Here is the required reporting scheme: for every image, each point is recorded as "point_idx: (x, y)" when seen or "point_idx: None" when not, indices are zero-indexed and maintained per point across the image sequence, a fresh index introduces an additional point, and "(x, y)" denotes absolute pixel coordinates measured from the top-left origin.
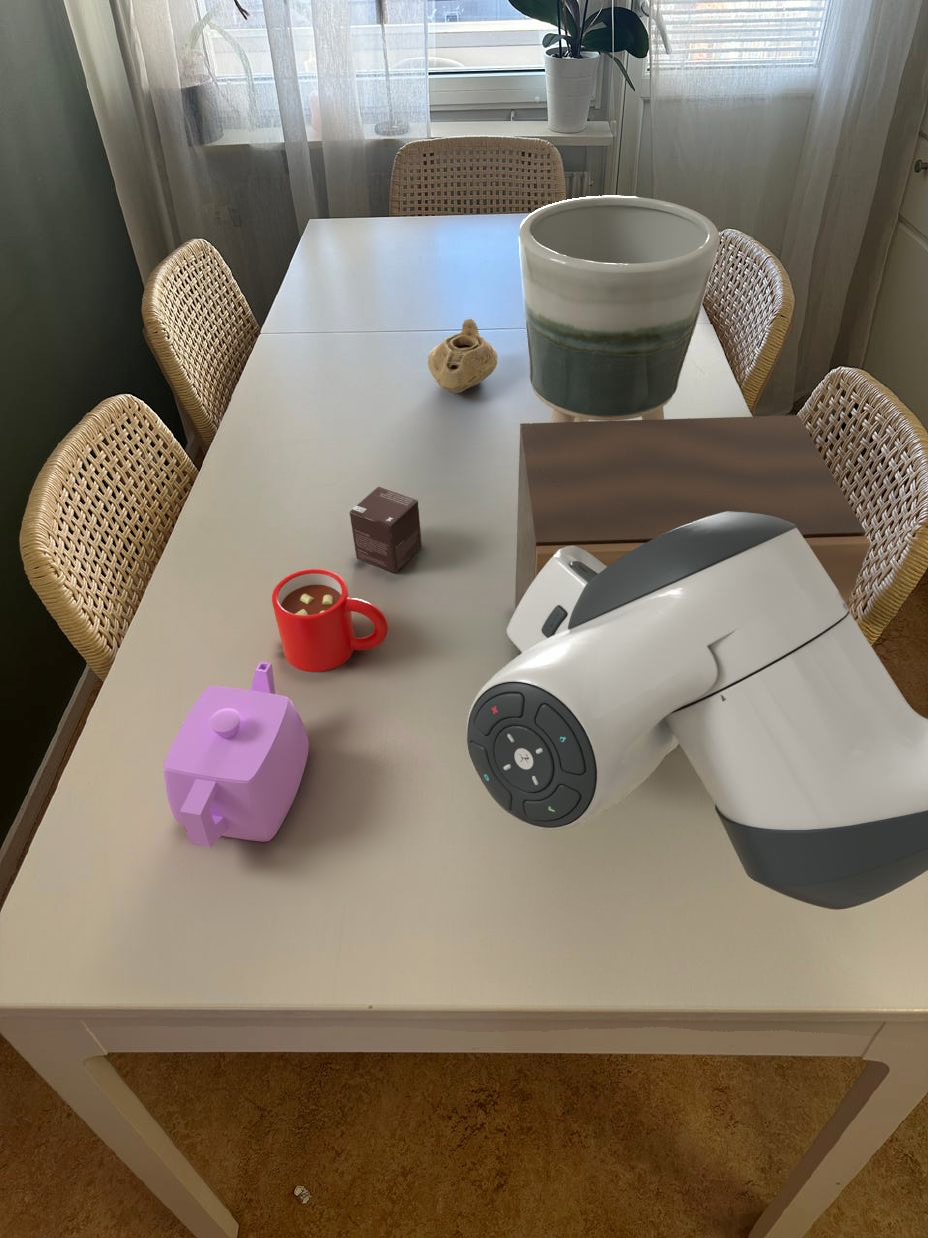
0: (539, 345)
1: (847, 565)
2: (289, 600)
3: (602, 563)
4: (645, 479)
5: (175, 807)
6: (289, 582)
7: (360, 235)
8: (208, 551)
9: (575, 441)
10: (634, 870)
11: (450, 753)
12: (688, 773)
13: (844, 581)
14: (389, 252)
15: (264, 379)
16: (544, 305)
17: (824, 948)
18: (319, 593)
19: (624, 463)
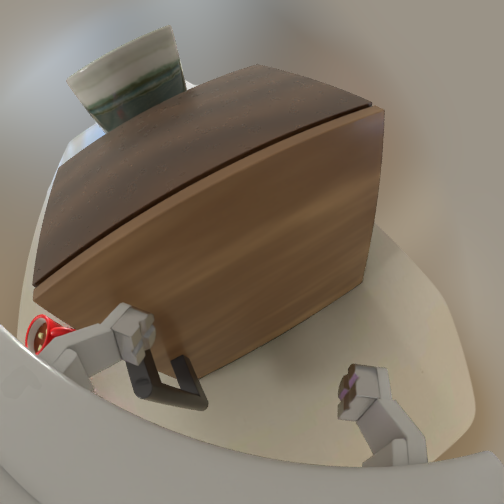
0: (98, 121)
1: (373, 140)
2: (36, 339)
3: (3, 337)
4: (137, 148)
5: None
6: (30, 330)
7: (80, 137)
8: (26, 311)
9: (88, 155)
10: (298, 450)
11: (146, 408)
12: (307, 354)
13: (374, 158)
14: (89, 136)
15: (44, 210)
16: (85, 99)
17: (431, 426)
18: (45, 329)
19: (121, 147)
